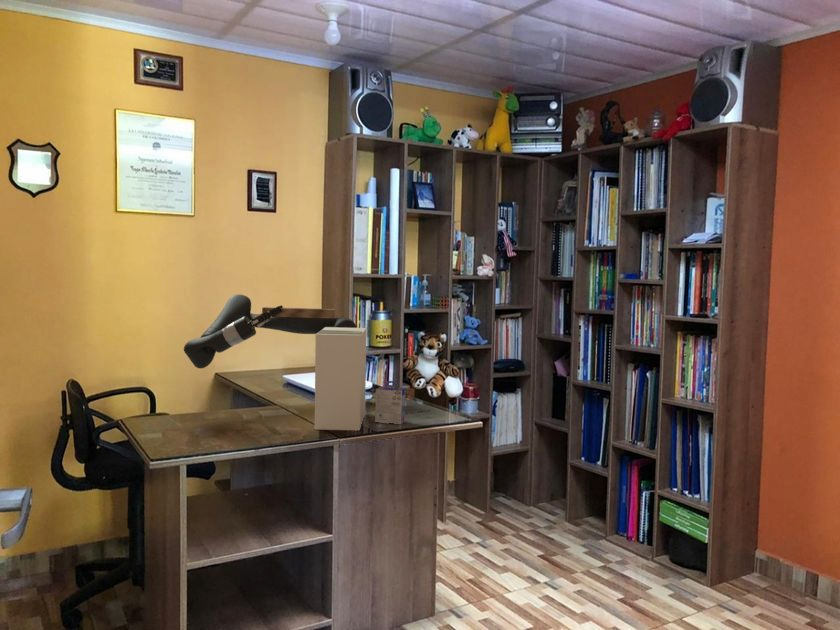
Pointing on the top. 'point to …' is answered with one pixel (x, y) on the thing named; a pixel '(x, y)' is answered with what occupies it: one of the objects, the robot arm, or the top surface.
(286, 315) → the walnut rod
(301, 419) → the top surface
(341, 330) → the tall tan cardboard box
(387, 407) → the ink cartridge box
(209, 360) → the robot arm
